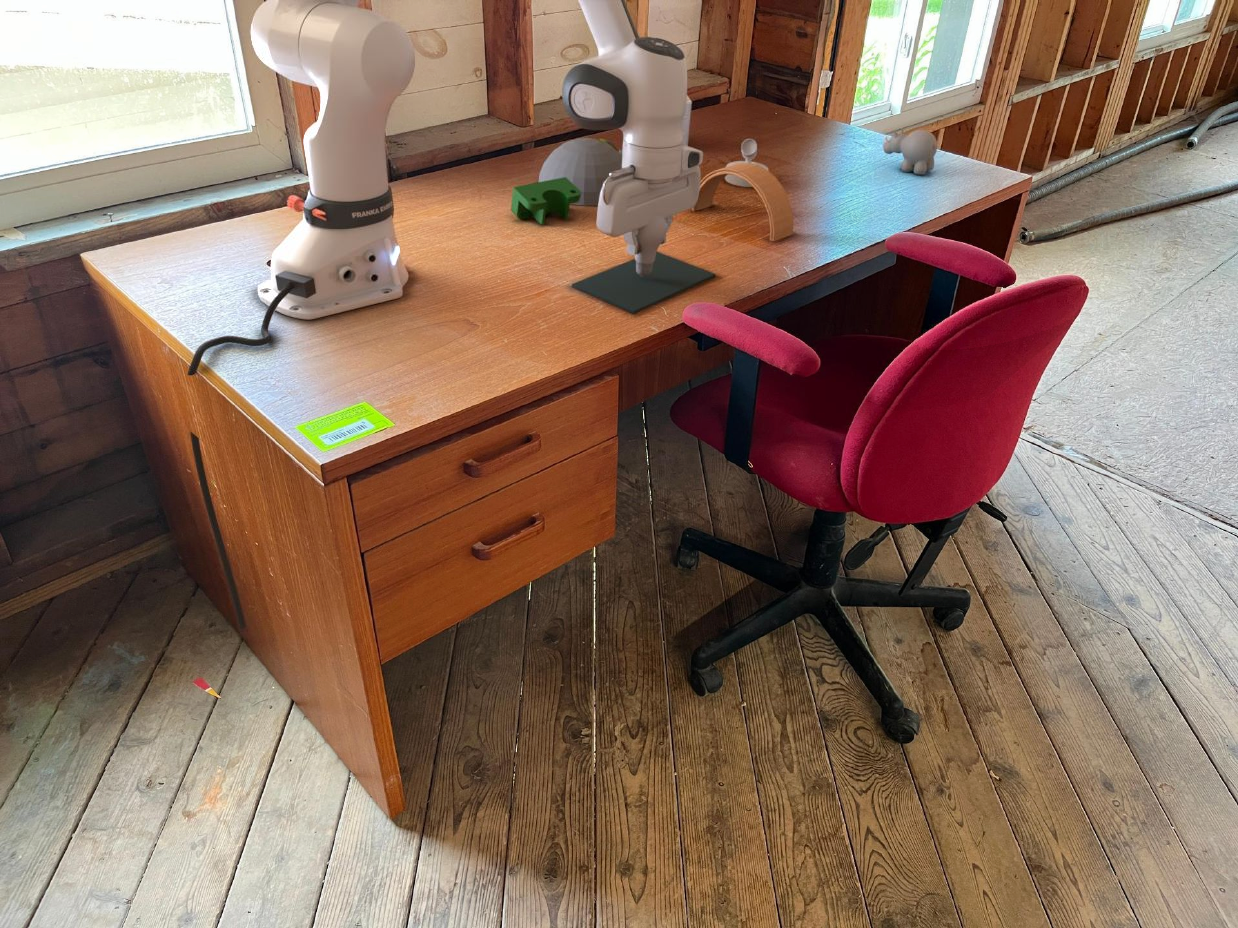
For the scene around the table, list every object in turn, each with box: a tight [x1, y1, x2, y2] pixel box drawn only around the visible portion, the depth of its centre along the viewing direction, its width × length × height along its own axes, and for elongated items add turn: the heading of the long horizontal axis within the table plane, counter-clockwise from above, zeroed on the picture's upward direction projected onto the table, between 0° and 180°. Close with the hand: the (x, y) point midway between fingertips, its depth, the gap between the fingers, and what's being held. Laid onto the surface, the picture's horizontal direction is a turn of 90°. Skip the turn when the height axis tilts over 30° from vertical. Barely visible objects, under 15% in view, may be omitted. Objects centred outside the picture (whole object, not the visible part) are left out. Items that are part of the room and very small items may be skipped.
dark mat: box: [571, 251, 716, 315], centre depth 148 cm, size 20×13×1 cm, turn 138°
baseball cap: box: [537, 137, 623, 206], centre depth 182 cm, size 19×26×12 cm
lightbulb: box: [634, 216, 668, 277], centre depth 144 cm, size 6×6×11 cm
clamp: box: [510, 177, 581, 226], centre depth 168 cm, size 12×6×9 cm, turn 120°
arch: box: [689, 163, 794, 242], centre depth 169 cm, size 6×20×10 cm, turn 44°
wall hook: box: [724, 138, 769, 188], centre depth 188 cm, size 9×10×10 cm
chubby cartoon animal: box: [882, 128, 938, 176], centre depth 200 cm, size 7×12×8 cm, turn 46°
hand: (646, 248), depth 145 cm, fingers closed on lightbulb, 4 cm apart
